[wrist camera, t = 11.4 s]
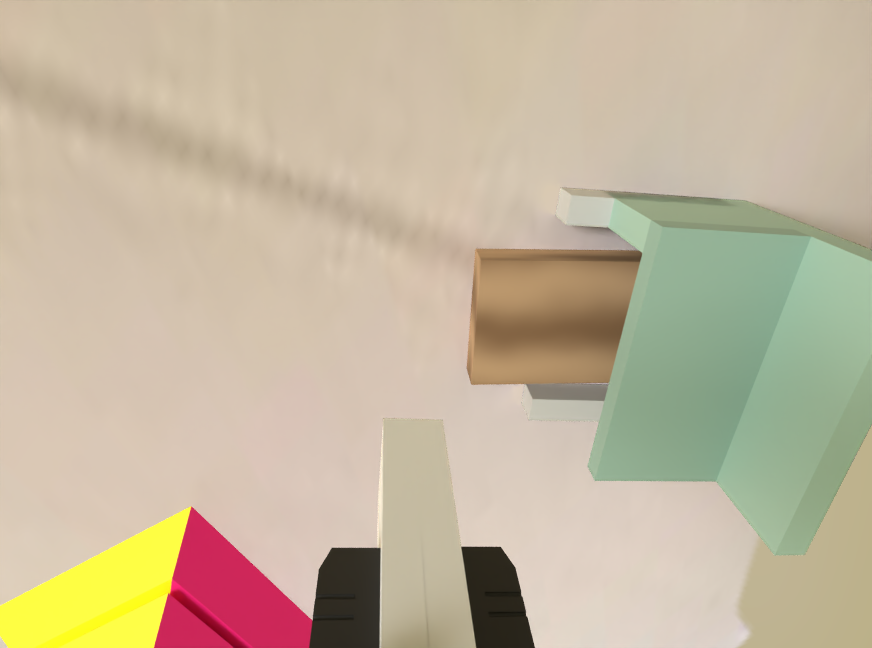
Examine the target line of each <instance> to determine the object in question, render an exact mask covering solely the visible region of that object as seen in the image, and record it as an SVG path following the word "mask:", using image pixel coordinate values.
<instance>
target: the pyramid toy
mask: <svg viewBox="0 0 872 648" xmlns="http://www.w3.org/2000/svg"><path fill="white" fill-rule="evenodd" d="M311 628H312V620H311V619H310V618H309V617H308V616H307V615H306V614H305V613H304V612H303V611H301V610H300V609H299V608H298V607H297V606H296V605H295V604H294V603H293V602H292V601H291V600H290V599H289V598H288V597H287V596H286V595H285V594H283V593H282V592H281V591H280V590H279V589H278V588H277V587H276V586H275V585H274V584H273V583H272V582H271V581H270V580H269V579H268V578H267V577H265V576H264V575H263V574H262V573H261V572H260V571H259V570H258V569H257V568H256V567H255V566H254V565H253V564H252V563H251V562H250V561H249V560H248V559H246V558H245V557H244V556H243V555H242V554H241V553H240V552H239V551H238V550H237V549H236V548H235V547H234V546H233V545H232V544H231V543H230V542H228V541H227V540H226V539H225V538H224V537H223V536H222V535H221V534H220V533H219V532H218V531H217V530H216V529H215V528H214V527H213V526H212V525H210V524H209V523H208V522H207V521H206V520H205V519H204V518H203V517H202V516H201V515H200V514H199V513H198V512H197V511H196V510H195V509H194V508H193V507H189V508H187V509H185V510H183V511H181V512H179V513H177V514H175V515H173V516H172V517H170V518H168V519H166V520H164V521H162V522H160V523H158V524H156V525H154V526H152V527H150V528H149V529H147V530H145V531H143V532H141V533H139V534H137V535H135V536H133V537H131V538H129V539H127V540H126V541H124V542H122V543H120V544H118V545H116V546H114V547H112V548H110V549H108V550H106V551H105V552H103V553H101V554H99V555H97V556H95V557H93V558H91V559H89V560H87V561H85V562H83V563H82V564H80V565H78V566H76V567H74V568H72V569H70V570H68V571H66V572H64V573H62V574H60V575H59V576H57V577H55V578H53V579H51V580H49V581H47V582H45V583H43V584H41V585H39V586H37V587H36V588H34V589H32V590H30V591H28V592H26V593H24V594H22V595H20V596H18V597H16V598H14V599H13V600H11V601H9V602H7V603H5V604H3V605H1V606H0V636H1V638H2V639H3V641H4V642H5V643H6V645H7V646H8V648H309V644H310V636H311Z"/></svg>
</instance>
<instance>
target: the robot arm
mask: <svg viewBox="0 0 872 648" xmlns="http://www.w3.org/2000/svg"><path fill="white" fill-rule="evenodd" d="M309 648H535V646H534V642H533V638H532V634H531V630H530V626H529V622H528V618H527V617H526V610H525V606H524V601H523V597H522V596H521V589H520V585H519V581H518V577H517V573H516V569H515V567H514V565H513V564H512V562H511V561H510V560H509V558H508V557H507V555H506V554H505V552H504V551H503V550H502V548H501V547H461V542H460V535H459V529H458V522H457V515H456V508H455V501H454V495H453V488H452V481H451V474H450V468H449V461H448V454H447V447H446V440H445V434H444V427H443V420H429V419H395V418H383V432H382V447H381V462H380V478H379V493H378V531H377V548H332V549H331V550H330V552H329V554H328V555H327V557H326V559H325V560H324V562H323V564H322V565H321V567H320V569H319V574H318V581H317V589H316V599H315V605H314V613H313V621H312V628H311V636H310V644H309Z"/></svg>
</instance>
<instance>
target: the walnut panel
mask: <svg viewBox="0 0 872 648" xmlns="http://www.w3.org/2000/svg"><path fill="white" fill-rule="evenodd" d="M641 257H642V252H641V251H629V250H540V249H476V250H475V263H474V277H473V290H472V304H471V317H470V331H469V344H468V358H467V371H468V374H469V378H470V381H471V385H478V384H549V383H609V381H610V377H611V374H612V370H613V366H614V362H615V358H616V354H617V350H618V346H619V343H620V339H621V335H622V331H623V327H624V323H625V319H626V315H627V311H628V308H629V304H630V300H631V296H632V292H633V288H634V284H635V280H636V277H637V273H638V269H639V265H640V261H641Z"/></svg>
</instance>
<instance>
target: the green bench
mask: <svg viewBox="0 0 872 648" xmlns="http://www.w3.org/2000/svg"><path fill="white" fill-rule="evenodd" d="M555 216H557V217H558V218H559V219H560V220H561V221H562V222H563V223H564V224H565V225H575V226H591V227H607V228H609V229H611V230H612V231H614V232H615V233H616V234H618V235H619V236H620V237H622V238H623V239H624V240H626V241H627V242H628V243H630V244H631V245H632V246H634V247H635V248H636V249H638V250H639V251H641V252H642V257H641V261H640V265H639V269H638V273H637V277H636V280H635V284H634V288H633V292H632V296H631V300H630V304H629V308H628V311H627V315H626V319H625V323H624V327H623V331H622V335H621V339H620V343H619V346H618V350H617V354H616V358H615V362H614V366H613V370H612V374H611V377H610V381H609V385H598V384H563V383H549V384H525V386H524V391H523V397H522V402H521V403H522V406H523V408H524V410H525V413H526V415H527V418H528V420H539V421H590V422H599V424H598V428H597V432H596V436H595V440H594V443H593V447H592V451H591V455H590V459H589V463H588V468H589V470H590V472H591V474H592V476H593V478H594V480H595V481H716V482H717V483H718V485H719V486H720V487H721V488H722V490H723V491H724V492H725V493H726V495H727V496H728V497H729V498H730V500H731V501H732V502H733V503H734V505H735V506H736V507H737V509H738V510H739V511H740V512H741V514H742V515H743V516H744V517H745V519H746V520H747V521H748V522H749V524H750V525H751V526H752V527H753V529H754V530H755V531H756V532H757V534H758V535H759V536H760V538H761V539H762V540H763V541H764V543H765V544H766V545H767V546H768V548H769V549H770V550H771V551H772V553H773V554H774V555H805V554H806V552H807V550H808V548H809V546H810V544H811V542H812V540H813V538H814V536H815V534H816V532H817V530H818V528H819V526H820V524H821V522H822V520H823V519H824V517H825V515H826V513H827V511H828V509H829V507H830V505H831V503H832V501H833V499H834V497H835V495H836V493H837V491H838V489H839V487H840V486H841V484H842V482H843V480H844V478H845V476H846V474H847V472H848V470H849V468H850V466H851V464H852V462H853V460H854V458H855V456H856V454H857V452H858V450H859V449H860V447H861V445H862V443H863V441H864V439H865V437H866V435H867V433H868V431H869V429H870V427H871V425H872V250H871V249H868V248H866V247H863V246H861V245H858V244H855V243H853V242H850V241H848V240H845V239H843V238H840V237H837V236H835V235H832V234H830V233H827V232H825V231H822V230H819V229H817V228H814V227H812V226H809V225H806V224H804V223H801V222H799V221H796V220H794V219H791V218H788V217H786V216H783V215H781V214H778V213H776V212H773V211H770V210H768V209H765V208H763V207H760V206H758V205H755V204H752V203H750V202H747V201H743V200H729V199H715V198H701V197H687V196H673V195H659V194H645V193H631V192H617V191H603V190H589V189H575V188H561V187H560V193H559V198H558V204H557V209H556V215H555Z"/></svg>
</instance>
